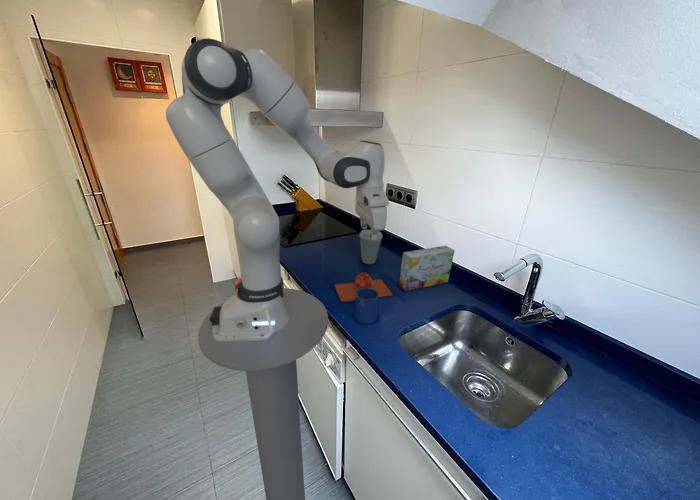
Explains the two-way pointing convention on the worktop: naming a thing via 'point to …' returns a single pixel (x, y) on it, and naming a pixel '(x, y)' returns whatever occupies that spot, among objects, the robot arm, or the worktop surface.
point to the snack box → (425, 267)
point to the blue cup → (366, 305)
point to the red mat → (349, 293)
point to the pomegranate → (364, 280)
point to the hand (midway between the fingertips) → (368, 233)
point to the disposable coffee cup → (369, 246)
